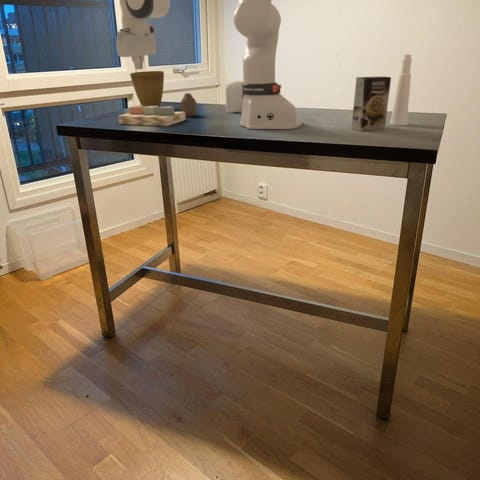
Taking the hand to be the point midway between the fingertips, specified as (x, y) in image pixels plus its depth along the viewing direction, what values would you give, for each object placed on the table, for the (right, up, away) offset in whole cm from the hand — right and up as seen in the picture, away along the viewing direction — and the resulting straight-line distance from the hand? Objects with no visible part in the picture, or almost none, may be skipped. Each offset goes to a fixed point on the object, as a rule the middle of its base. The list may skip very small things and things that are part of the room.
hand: (139, 69), depth 161 cm
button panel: (+4, -19, +4) cm, 20 cm away
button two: (+10, -17, +1) cm, 20 cm away
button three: (+4, -16, +3) cm, 17 cm away
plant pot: (-3, -4, +35) cm, 36 cm away
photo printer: (+37, -10, +21) cm, 44 cm away
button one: (-2, -16, +5) cm, 17 cm away
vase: (+17, -13, +15) cm, 27 cm away
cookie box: (+81, -28, -20) cm, 88 cm away
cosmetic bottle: (+93, -25, -14) cm, 97 cm away
